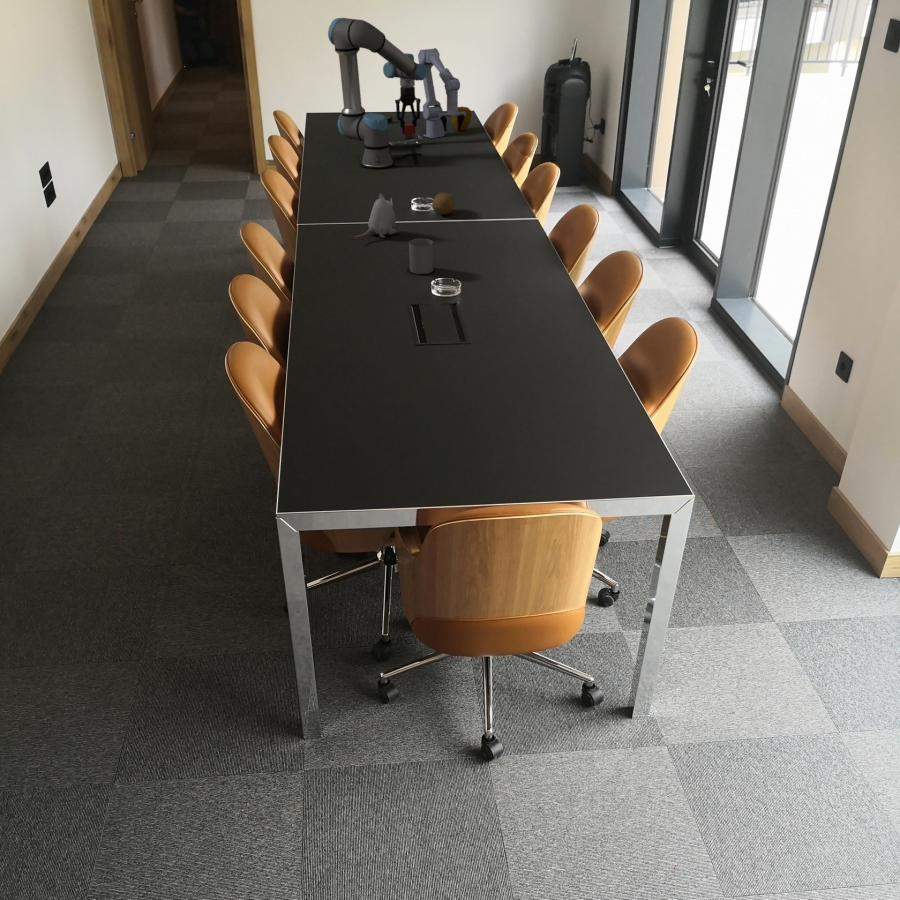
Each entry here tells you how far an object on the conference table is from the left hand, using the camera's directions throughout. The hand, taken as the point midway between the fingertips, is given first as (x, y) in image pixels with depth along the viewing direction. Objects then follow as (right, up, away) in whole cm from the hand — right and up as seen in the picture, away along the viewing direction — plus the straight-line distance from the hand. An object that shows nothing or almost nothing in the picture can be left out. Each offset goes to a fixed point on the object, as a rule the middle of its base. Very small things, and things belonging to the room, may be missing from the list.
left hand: (408, 133), depth 459 cm
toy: (-8, -86, -123) cm, 150 cm away
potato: (+19, -69, -97) cm, 120 cm away
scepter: (-26, +23, +47) cm, 59 cm away
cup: (+12, -104, -151) cm, 184 cm away
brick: (0, 0, 0) cm, 0 cm away
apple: (+28, +13, +31) cm, 44 cm away
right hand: (+23, +3, +3) cm, 23 cm away
